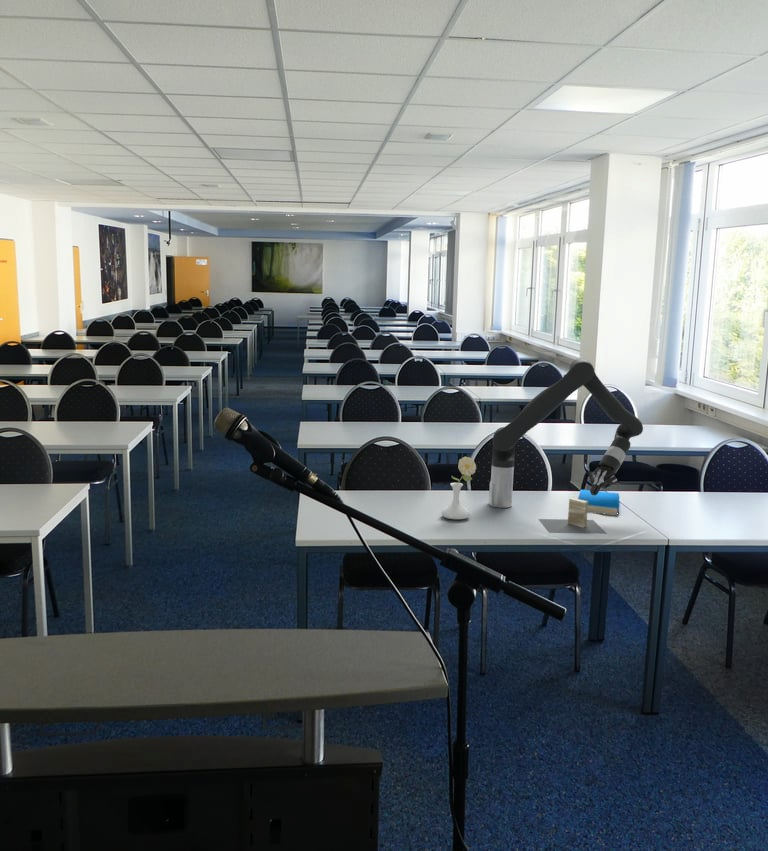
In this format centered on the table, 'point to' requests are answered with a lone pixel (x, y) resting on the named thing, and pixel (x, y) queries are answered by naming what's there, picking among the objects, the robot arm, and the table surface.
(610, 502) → the book
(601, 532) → the mat
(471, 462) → the flower in vase
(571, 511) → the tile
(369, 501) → the table surface
